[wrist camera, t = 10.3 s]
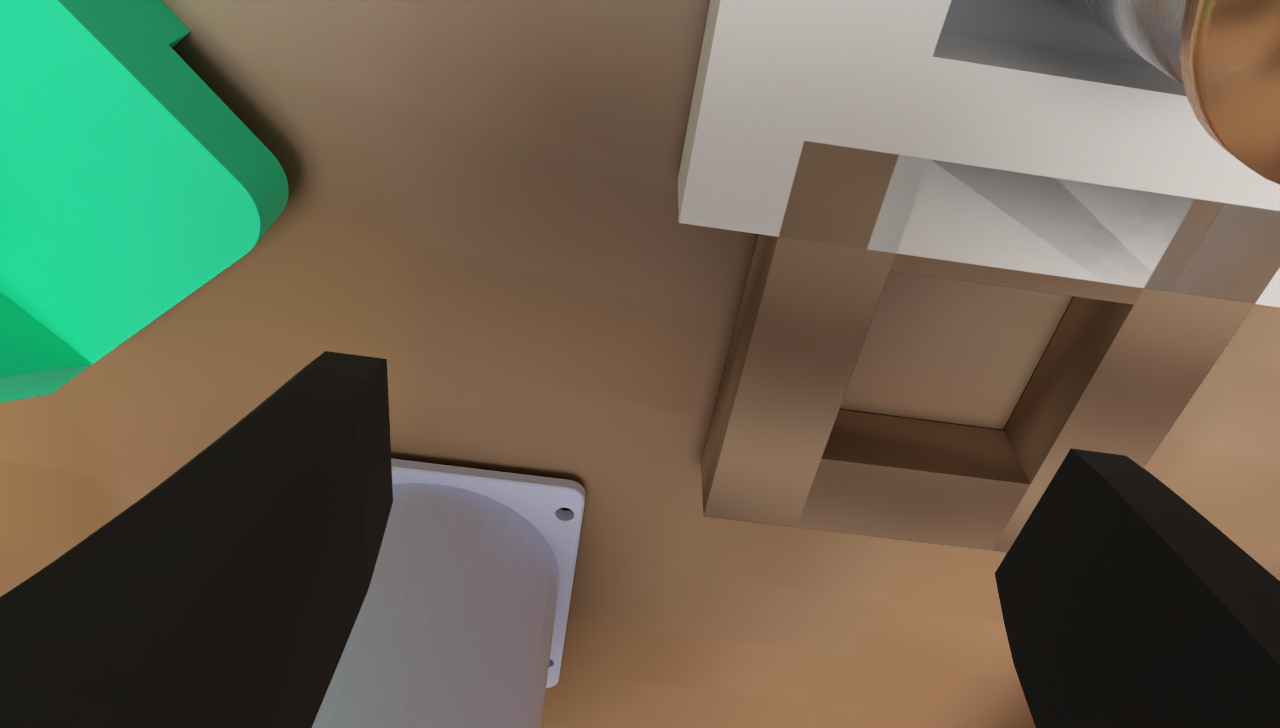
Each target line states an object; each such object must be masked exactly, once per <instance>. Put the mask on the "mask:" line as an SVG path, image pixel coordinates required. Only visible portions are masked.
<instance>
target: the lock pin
mask: <svg viewBox="0 0 1280 728" xmlns="http://www.w3.org/2000/svg"><path fill="white" fill-rule="evenodd" d="M1060 1H1062V2H1063V3H1064V4H1066V5H1067V6H1069V7H1070V8H1072V9H1073V10H1074V11H1076V12H1077V13H1079V14H1080V15H1082V16H1083V17H1085V18H1086V19H1087V20H1089V21H1090V22H1092V23H1093V24H1095V25H1096V26H1098V27H1099V28H1100V29H1102V30H1103V31H1105V32H1106V33H1108V34H1109V35H1110V36H1112V37H1113V38H1115V39H1116V40H1118V41H1119V42H1121V43H1122V44H1123V45H1125V46H1126V47H1128V48H1129V49H1131V50H1132V51H1133V52H1135V53H1136V54H1138V55H1139V56H1141V57H1142V58H1144V59H1145V60H1146V61H1148V62H1149V63H1151V64H1152V65H1154V66H1155V67H1157V68H1158V69H1159V70H1161V71H1162V72H1164V73H1165V74H1167V75H1168V76H1169V77H1171V78H1172V79H1174V80H1175V81H1177V82H1178V83H1180V84H1181V85H1182V86H1184V88H1185V91H1186V95H1187V99H1188V101H1189V103H1190V105H1191V107H1192V110H1193V112H1194V114H1195V116H1196V118H1197V119H1198V121H1199V122H1200V124H1201V125H1202V126H1203V128H1204V129H1205V131H1206V132H1207V133H1208V135H1210V136H1211V137H1212V138H1213V139H1214V140H1215V141H1216V142H1217V143H1218V144H1219V145H1220V146H1221V147H1222V148H1223V149H1225V150H1226V151H1227V152H1229V153H1230V154H1231V155H1233V156H1234V157H1235V158H1236V159H1238V160H1239V161H1240V162H1242V163H1243V164H1244V165H1246V166H1247V167H1248V168H1250V169H1252V170H1253V171H1255V172H1256V173H1258V174H1259V175H1261V176H1262V177H1264V178H1265V179H1268V180H1270V181H1272V182H1275V183H1277V184H1279V185H1280V0H1060Z"/></svg>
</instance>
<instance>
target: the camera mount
mask: <svg viewBox="0 0 1280 728" xmlns="http://www.w3.org/2000/svg"><path fill="white" fill-rule="evenodd" d="M190 32H191V31H190V30H189V29H188V28H187V27H186V26H185V25H184V24H183V23H182V22H181V21H180V20H179V18H178V17H177V16H176V15H175V14H174V13H173V12H172V11H171V10H170V9H169V8H168V7H167V6H166V5H165V3H164V2H163V1H162V0H0V403H2V402H7V401H13V400H19V399H24V398H30V397H36V396H41V395H47V394H52V393H53V392H54V391H56V390H57V389H59V388H60V387H61V386H63V385H64V384H66V383H67V382H68V381H70V380H71V379H73V378H74V377H75V376H77V375H78V374H80V373H81V372H82V371H84V370H85V369H87V368H88V367H89V366H91V365H92V364H94V363H95V362H96V361H98V360H99V359H101V358H102V357H103V356H105V355H106V354H108V353H109V352H110V351H112V350H113V349H115V348H116V347H117V346H119V345H120V344H121V343H123V342H124V341H126V340H127V339H128V338H130V337H131V336H133V335H134V334H135V333H137V332H138V331H140V330H141V329H142V328H144V327H145V326H147V325H148V324H149V323H151V322H152V321H154V320H155V319H156V318H158V317H159V316H161V315H162V314H163V313H165V312H166V311H168V310H169V309H170V308H172V307H173V306H175V305H176V304H177V303H179V302H180V301H181V300H183V299H184V298H186V297H187V296H188V295H190V294H191V293H193V292H194V291H195V290H197V289H198V288H200V287H201V286H202V285H204V284H205V283H207V282H208V281H209V280H211V279H212V278H214V277H215V276H216V275H218V274H219V273H221V272H222V271H223V270H225V269H226V268H228V267H229V266H230V265H232V264H233V263H235V262H236V261H237V260H239V259H240V258H241V257H243V256H244V255H246V254H247V253H248V252H249V251H250V250H251V249H252V248H253V247H254V246H255V245H256V244H257V242H258V241H259V240H260V239H261V237H262V236H263V235H264V234H265V233H266V231H267V230H268V229H269V228H270V227H271V225H272V224H273V223H274V222H275V221H276V219H277V218H278V217H279V216H280V215H281V213H282V212H283V210H284V209H285V207H286V204H287V201H288V195H289V188H288V181H287V178H286V175H285V172H284V170H283V168H282V166H281V165H280V163H279V161H278V160H277V159H276V157H275V156H274V155H273V154H272V153H271V152H270V150H269V149H268V148H267V147H266V146H265V145H264V144H263V143H262V142H261V141H260V140H259V139H258V138H257V137H256V136H255V135H254V134H253V133H252V132H251V131H250V129H249V128H248V127H247V126H246V125H245V124H244V123H243V122H242V121H241V120H240V119H239V118H238V117H237V116H236V115H235V114H234V113H233V112H232V111H231V110H230V109H229V107H228V106H227V105H226V104H225V103H224V102H223V101H222V100H221V99H220V98H219V97H218V96H217V95H216V94H215V93H214V92H213V91H212V90H211V89H210V88H209V87H208V85H207V84H206V83H205V82H204V81H203V80H202V79H201V78H200V77H199V76H198V75H197V74H196V73H195V72H194V71H193V70H192V69H191V68H190V67H189V66H188V64H187V63H186V62H185V61H184V60H183V59H182V58H181V57H180V56H179V55H178V54H177V53H176V52H175V51H174V50H173V49H172V48H173V47H174V46H175V45H176V44H177V43H178V42H179V41H180V40H182V39H183V38H184V37H185V36H186V35H187V34H188V33H190Z"/></svg>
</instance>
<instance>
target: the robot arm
mask: <svg viewBox="0 0 1280 728" xmlns="http://www.w3.org/2000/svg"><path fill="white" fill-rule="evenodd" d="M584 503H585V489H584V488H583V487H582V485H580V484H579V483H577V482H575V481H572V480H566V479H558V478H550V477H541V476H533V475H525V474H516V473H508V472H500V471H491V470H483V469H475V468H466V467H458V466H450V465H441V464H433V463H425V462H416V461H408V460H400V459H391V445H390V424H389V402H388V381H387V359H381V358H373V357H365V356H358V355H350V354H342V353H335V352H327V351H326V352H324V353H323V354H321V355H320V356H319V357H317V358H316V359H315V360H313V361H312V362H311V363H310V364H308V365H307V366H306V367H305V368H303V369H302V370H301V371H300V372H298V373H297V374H296V375H295V376H294V377H292V378H291V379H290V380H289V381H288V382H286V383H285V384H284V385H283V386H282V387H280V388H279V389H278V390H277V391H276V392H274V393H273V394H272V395H271V396H270V397H268V398H267V399H266V400H265V401H264V402H262V403H261V404H260V405H259V406H258V407H256V408H255V409H254V410H253V411H252V412H250V413H249V414H248V415H247V416H246V417H244V418H243V419H242V420H241V421H239V422H238V423H237V424H236V425H235V426H233V427H232V428H231V429H230V430H228V431H227V432H226V433H225V434H224V435H222V436H221V437H220V438H219V439H217V440H216V441H215V442H214V443H212V444H211V445H210V446H208V447H207V448H206V449H205V450H203V451H202V452H201V453H199V454H198V455H197V456H196V457H194V458H193V459H192V460H191V461H189V462H188V463H187V464H185V465H184V466H183V467H182V468H180V469H179V470H178V471H177V472H175V473H174V474H173V475H171V476H170V477H169V478H168V479H166V480H165V481H164V482H163V483H161V484H160V485H159V486H157V487H156V488H155V489H153V490H152V491H151V492H150V493H148V494H147V495H146V496H144V497H143V498H142V499H140V500H139V501H138V502H136V503H135V504H133V505H132V506H131V507H129V508H128V509H126V510H125V511H124V512H122V513H121V514H119V515H118V516H117V517H115V518H114V519H112V520H111V521H110V522H108V523H107V524H105V525H104V526H103V527H101V528H100V529H99V530H97V531H96V532H94V533H93V534H92V535H90V536H89V537H87V538H86V539H85V540H83V541H82V542H80V543H79V544H78V545H76V546H75V547H73V548H72V549H71V550H69V551H68V552H66V553H65V554H64V555H62V556H61V557H59V558H58V559H57V560H55V561H54V562H52V563H51V564H49V565H48V566H46V567H45V568H44V569H42V570H41V571H39V572H38V573H36V574H35V575H33V576H32V577H30V578H29V579H27V580H26V581H24V582H23V583H21V584H20V585H18V586H17V587H15V588H14V589H12V590H11V591H9V592H8V593H6V594H5V595H3V596H2V597H0V728H541V723H542V715H543V707H544V699H545V692H546V688H550V687H553V686H555V685H556V684H557V683H558V681H559V675H560V668H561V661H562V654H563V647H564V640H565V634H566V627H567V620H568V613H569V606H570V599H571V592H572V586H573V579H574V572H575V565H576V558H577V551H578V544H579V538H580V531H581V524H582V517H583V510H584ZM560 508H568V509H571V510H568V511H565V510H561V509H560ZM995 577H996V582H997V587H998V592H999V598H1000V603H1001V608H1002V614H1003V619H1004V624H1005V628H1006V632H1007V637H1008V641H1009V645H1010V650H1011V654H1012V658H1013V663H1014V666H1015V669H1016V672H1017V675H1018V678H1019V680H1020V683H1021V686H1022V689H1023V692H1024V695H1025V698H1026V701H1027V704H1028V706H1029V709H1030V712H1031V715H1032V718H1033V721H1034V723H1035V726H1036V728H1280V581H1279V580H1277V579H1276V578H1275V577H1274V576H1273V575H1272V574H1270V573H1269V572H1268V571H1267V570H1266V569H1264V568H1263V567H1262V566H1261V565H1260V564H1259V563H1257V562H1256V561H1255V560H1254V559H1253V558H1252V557H1250V556H1249V555H1248V554H1247V553H1246V552H1244V551H1243V550H1242V549H1241V548H1240V547H1239V546H1237V545H1236V544H1235V543H1234V542H1233V541H1232V540H1230V539H1229V538H1228V537H1227V536H1226V535H1225V534H1223V533H1222V532H1221V531H1220V530H1219V529H1217V528H1216V527H1215V526H1214V525H1213V524H1212V523H1210V522H1209V521H1208V520H1207V519H1206V518H1204V517H1203V516H1202V515H1201V514H1200V513H1198V512H1197V511H1196V510H1195V509H1194V508H1192V507H1191V506H1190V505H1189V504H1188V503H1186V502H1185V501H1184V500H1183V499H1182V498H1180V497H1179V496H1178V495H1177V494H1176V493H1174V492H1173V491H1172V490H1171V489H1169V488H1168V487H1167V486H1166V485H1164V484H1163V483H1162V482H1161V481H1159V480H1158V479H1157V478H1155V477H1154V476H1153V475H1152V474H1150V473H1149V472H1148V471H1146V470H1145V469H1144V468H1142V467H1141V466H1140V465H1138V464H1137V463H1135V462H1134V461H1133V460H1131V459H1130V458H1129V457H1127V456H1125V455H1118V454H1110V453H1102V452H1094V451H1087V450H1079V449H1070V451H1069V452H1068V454H1067V456H1066V457H1065V459H1064V460H1063V462H1062V464H1061V465H1060V467H1059V469H1058V470H1057V472H1056V474H1055V475H1054V477H1053V479H1052V480H1051V482H1050V484H1049V485H1048V487H1047V488H1046V490H1045V492H1044V493H1043V495H1042V497H1041V498H1040V500H1039V502H1038V503H1037V505H1036V507H1035V508H1034V510H1033V512H1032V513H1031V515H1030V516H1029V518H1028V520H1027V521H1026V523H1025V525H1024V526H1023V528H1022V530H1021V531H1020V533H1019V535H1018V536H1017V538H1016V540H1015V541H1014V543H1013V544H1012V546H1011V548H1010V549H1009V551H1008V553H1007V554H1006V556H1005V558H1004V559H1003V561H1002V563H1001V564H1000V566H999V568H998V569H997V571H996V572H995Z"/></svg>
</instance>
